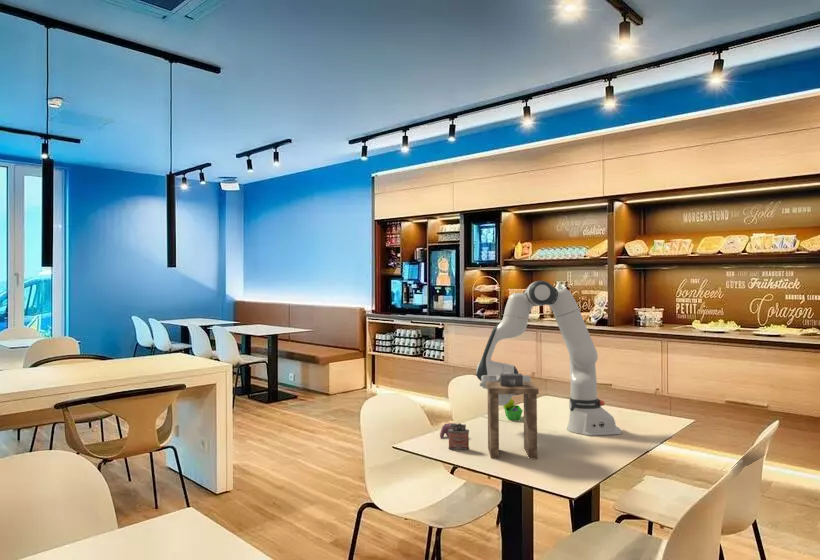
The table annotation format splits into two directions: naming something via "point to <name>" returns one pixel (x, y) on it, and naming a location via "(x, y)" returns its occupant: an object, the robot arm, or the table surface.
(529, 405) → the walnut shelf
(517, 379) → the steel t handle
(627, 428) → the table surface
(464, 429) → the lighter
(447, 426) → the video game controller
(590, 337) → the robot arm
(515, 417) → the fruit basket
